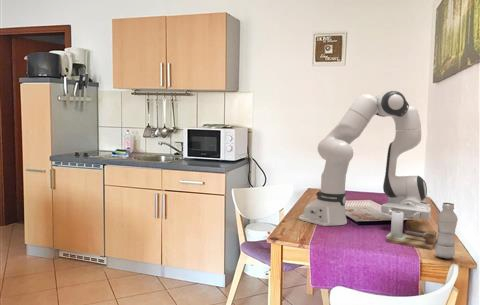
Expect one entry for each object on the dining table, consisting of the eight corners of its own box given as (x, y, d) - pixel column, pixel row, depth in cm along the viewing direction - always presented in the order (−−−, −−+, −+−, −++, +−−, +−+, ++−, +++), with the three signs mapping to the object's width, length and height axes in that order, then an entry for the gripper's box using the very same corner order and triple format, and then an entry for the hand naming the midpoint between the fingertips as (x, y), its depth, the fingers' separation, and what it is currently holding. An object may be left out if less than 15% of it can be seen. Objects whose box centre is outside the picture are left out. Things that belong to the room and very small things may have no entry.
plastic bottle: (435, 253, 163) (439, 200, 160) (455, 256, 159) (459, 203, 157) (433, 258, 157) (436, 204, 155) (453, 262, 154) (458, 206, 152)
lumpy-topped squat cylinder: (390, 208, 233) (391, 193, 232) (385, 203, 245) (386, 188, 244) (410, 209, 231) (411, 193, 230) (404, 204, 244) (405, 189, 243)
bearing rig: (383, 241, 176) (384, 228, 176) (391, 234, 186) (392, 222, 185) (431, 250, 166) (432, 236, 166) (437, 242, 176) (438, 229, 176)
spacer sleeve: (389, 236, 178) (390, 212, 177) (392, 233, 182) (393, 210, 181) (400, 238, 176) (402, 214, 175) (403, 235, 180) (404, 211, 179)
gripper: (386, 198, 199) (376, 203, 188) (434, 204, 188) (427, 210, 177) (385, 211, 200) (376, 217, 189) (433, 218, 189) (426, 225, 177)
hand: (401, 214), depth 183 cm, fingers open, 8 cm apart
